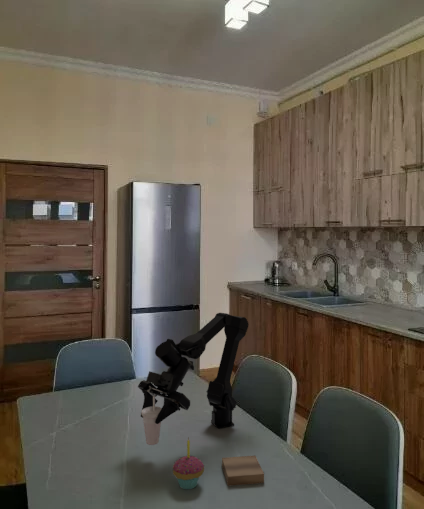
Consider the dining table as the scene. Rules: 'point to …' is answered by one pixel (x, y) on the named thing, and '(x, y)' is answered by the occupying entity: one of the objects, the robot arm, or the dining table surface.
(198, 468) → the cupcake
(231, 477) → the plinth
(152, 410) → the smoothie
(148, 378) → the robot arm
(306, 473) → the dining table surface
